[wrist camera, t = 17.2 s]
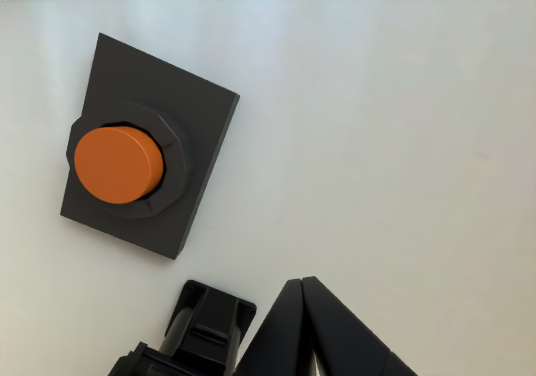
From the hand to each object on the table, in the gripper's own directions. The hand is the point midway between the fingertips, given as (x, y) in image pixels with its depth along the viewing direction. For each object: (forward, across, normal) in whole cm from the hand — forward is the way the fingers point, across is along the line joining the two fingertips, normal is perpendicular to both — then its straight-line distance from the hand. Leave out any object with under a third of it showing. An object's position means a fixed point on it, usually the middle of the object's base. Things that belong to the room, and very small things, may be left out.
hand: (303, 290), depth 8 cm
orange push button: (+9, +9, -4) cm, 14 cm away
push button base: (+12, +10, -4) cm, 16 cm away
